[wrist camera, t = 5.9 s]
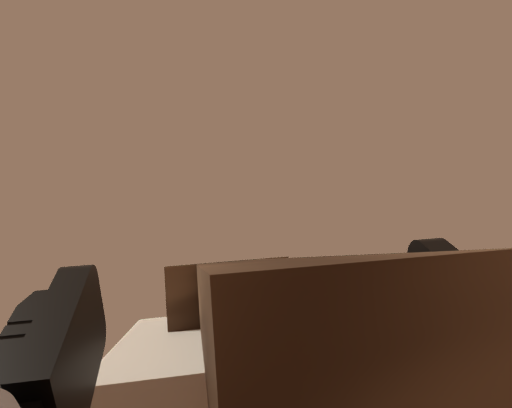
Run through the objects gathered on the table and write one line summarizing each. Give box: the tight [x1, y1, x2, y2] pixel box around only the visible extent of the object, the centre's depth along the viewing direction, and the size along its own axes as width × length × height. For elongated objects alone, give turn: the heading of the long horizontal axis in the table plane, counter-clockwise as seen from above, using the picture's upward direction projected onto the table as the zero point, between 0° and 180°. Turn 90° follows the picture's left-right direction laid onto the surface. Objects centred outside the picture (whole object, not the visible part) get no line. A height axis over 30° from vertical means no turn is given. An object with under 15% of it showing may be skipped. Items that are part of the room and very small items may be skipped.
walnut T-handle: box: [164, 248, 512, 408], centre depth 13 cm, size 6×20×3 cm, turn 8°
